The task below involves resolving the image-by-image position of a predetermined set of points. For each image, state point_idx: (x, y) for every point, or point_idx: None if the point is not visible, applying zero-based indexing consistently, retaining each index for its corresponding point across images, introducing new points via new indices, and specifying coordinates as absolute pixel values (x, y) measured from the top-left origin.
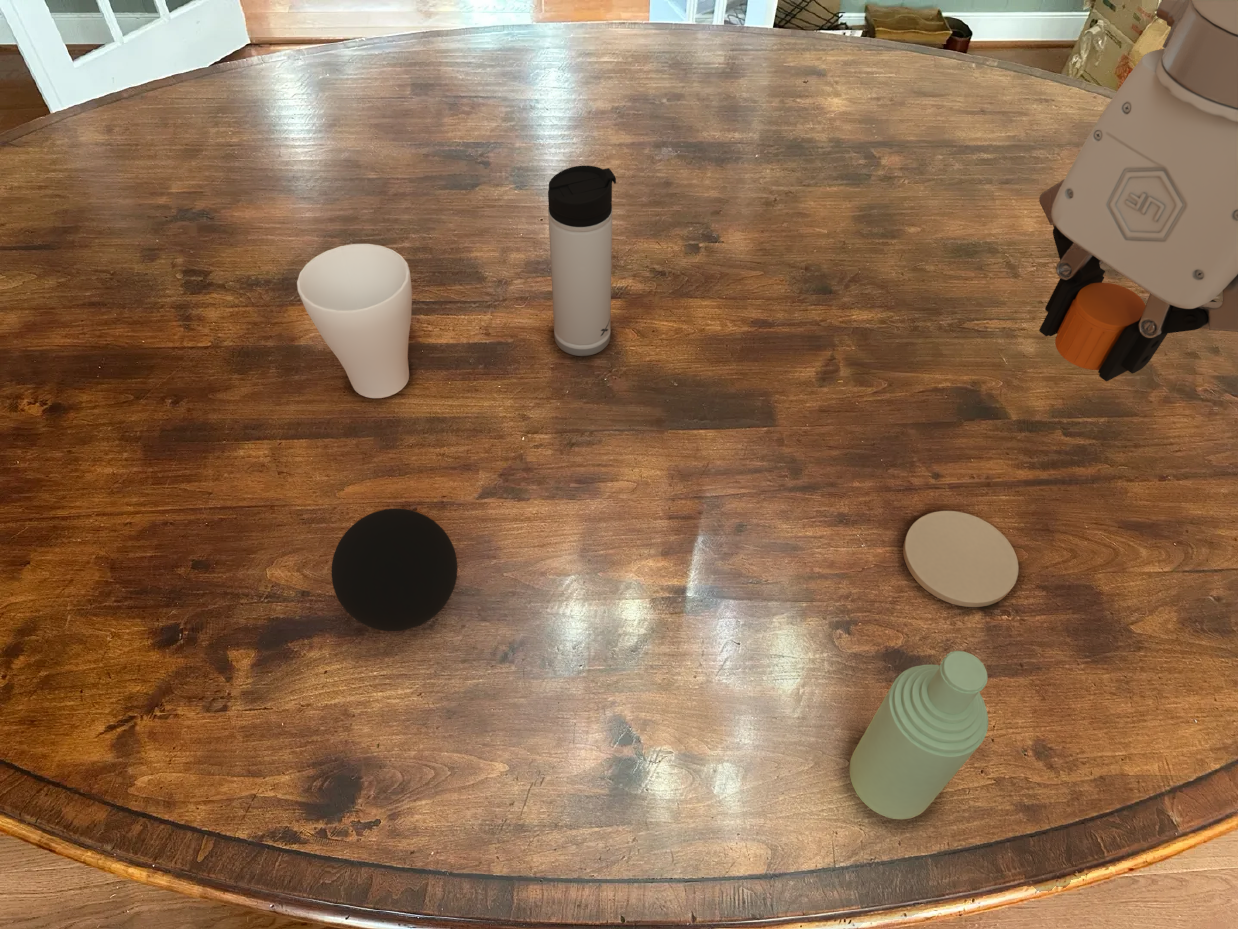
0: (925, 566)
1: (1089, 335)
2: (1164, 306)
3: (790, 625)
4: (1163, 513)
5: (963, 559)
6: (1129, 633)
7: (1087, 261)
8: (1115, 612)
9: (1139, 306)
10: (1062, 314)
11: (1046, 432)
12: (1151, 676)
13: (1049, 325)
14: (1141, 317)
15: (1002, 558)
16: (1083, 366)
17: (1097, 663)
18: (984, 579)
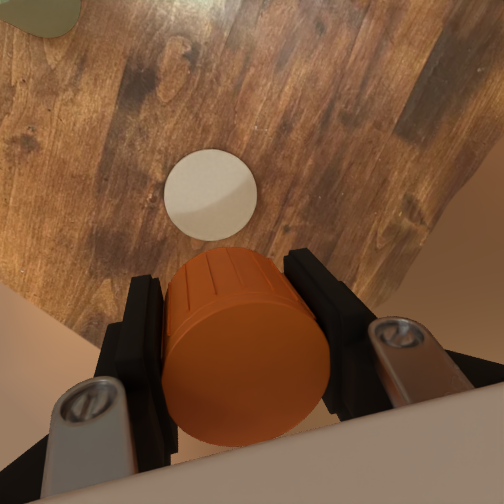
0: (213, 161)
1: (209, 287)
2: (56, 490)
3: (211, 5)
4: None
5: (207, 195)
6: (104, 275)
7: (388, 393)
8: (124, 277)
9: (211, 429)
10: (302, 287)
11: None
12: (66, 266)
13: (298, 258)
14: (123, 403)
15: (195, 226)
16: (186, 264)
17: (88, 236)
18: (183, 199)
